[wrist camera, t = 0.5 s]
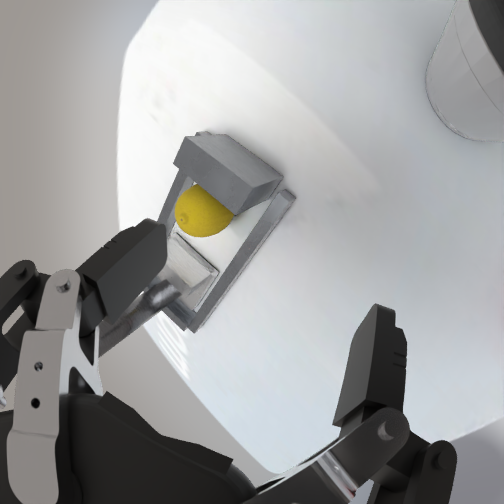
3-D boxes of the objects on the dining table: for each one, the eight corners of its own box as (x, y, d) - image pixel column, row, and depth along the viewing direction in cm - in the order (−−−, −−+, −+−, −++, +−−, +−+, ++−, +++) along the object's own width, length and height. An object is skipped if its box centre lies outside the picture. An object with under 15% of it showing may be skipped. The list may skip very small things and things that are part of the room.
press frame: (211, 124, 30) (169, 124, 24) (301, 190, 28) (274, 205, 23) (145, 272, 44) (113, 291, 39) (201, 326, 43) (173, 353, 37)
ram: (175, 232, 38) (40, 304, 21) (218, 272, 37) (90, 371, 20) (158, 272, 42) (47, 343, 26) (195, 308, 41) (89, 397, 24)
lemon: (202, 212, 35) (156, 232, 28) (212, 170, 32) (164, 182, 25) (239, 231, 33) (198, 257, 27) (253, 188, 31) (211, 204, 24)
